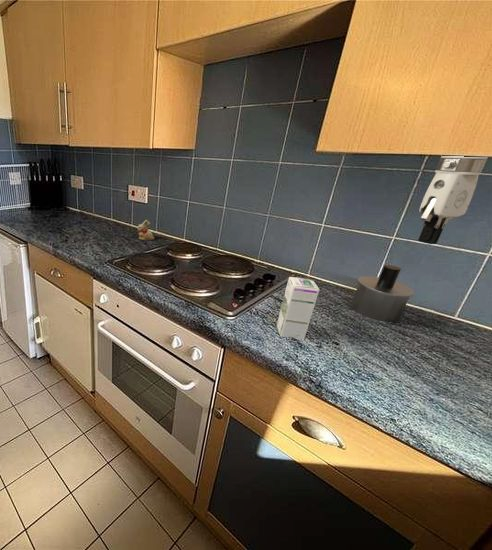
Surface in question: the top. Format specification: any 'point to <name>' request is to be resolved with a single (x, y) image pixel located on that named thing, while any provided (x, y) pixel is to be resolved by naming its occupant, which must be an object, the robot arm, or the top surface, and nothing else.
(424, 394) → the top surface
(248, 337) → the top surface
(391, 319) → the canister
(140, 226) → the chocolate bunny
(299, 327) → the syrup box
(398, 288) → the canister lid
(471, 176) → the robot arm
